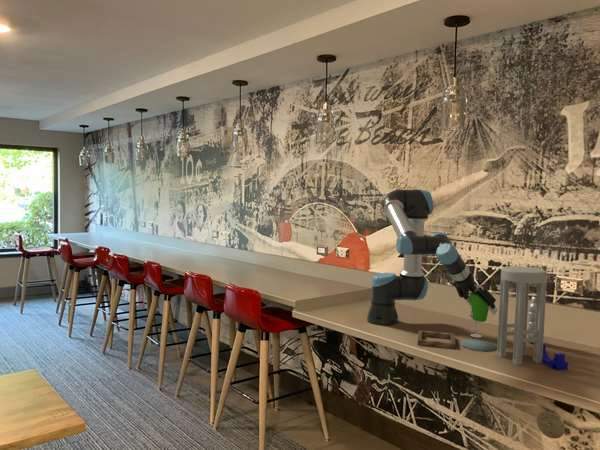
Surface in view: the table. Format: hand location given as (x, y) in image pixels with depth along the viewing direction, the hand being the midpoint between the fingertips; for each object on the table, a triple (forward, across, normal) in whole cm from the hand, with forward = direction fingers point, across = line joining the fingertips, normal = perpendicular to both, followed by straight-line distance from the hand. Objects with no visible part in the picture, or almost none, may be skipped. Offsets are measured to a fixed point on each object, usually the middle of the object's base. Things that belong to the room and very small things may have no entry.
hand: (485, 309), depth 204 cm
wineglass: (+17, -10, -5) cm, 20 cm away
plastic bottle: (+26, +9, +5) cm, 28 cm away
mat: (+8, 0, -13) cm, 15 cm away
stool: (+9, +18, -12) cm, 24 cm away
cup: (+1, 0, -5) cm, 5 cm away
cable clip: (+13, +28, -9) cm, 32 cm away
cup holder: (+1, -13, -20) cm, 24 cm away
